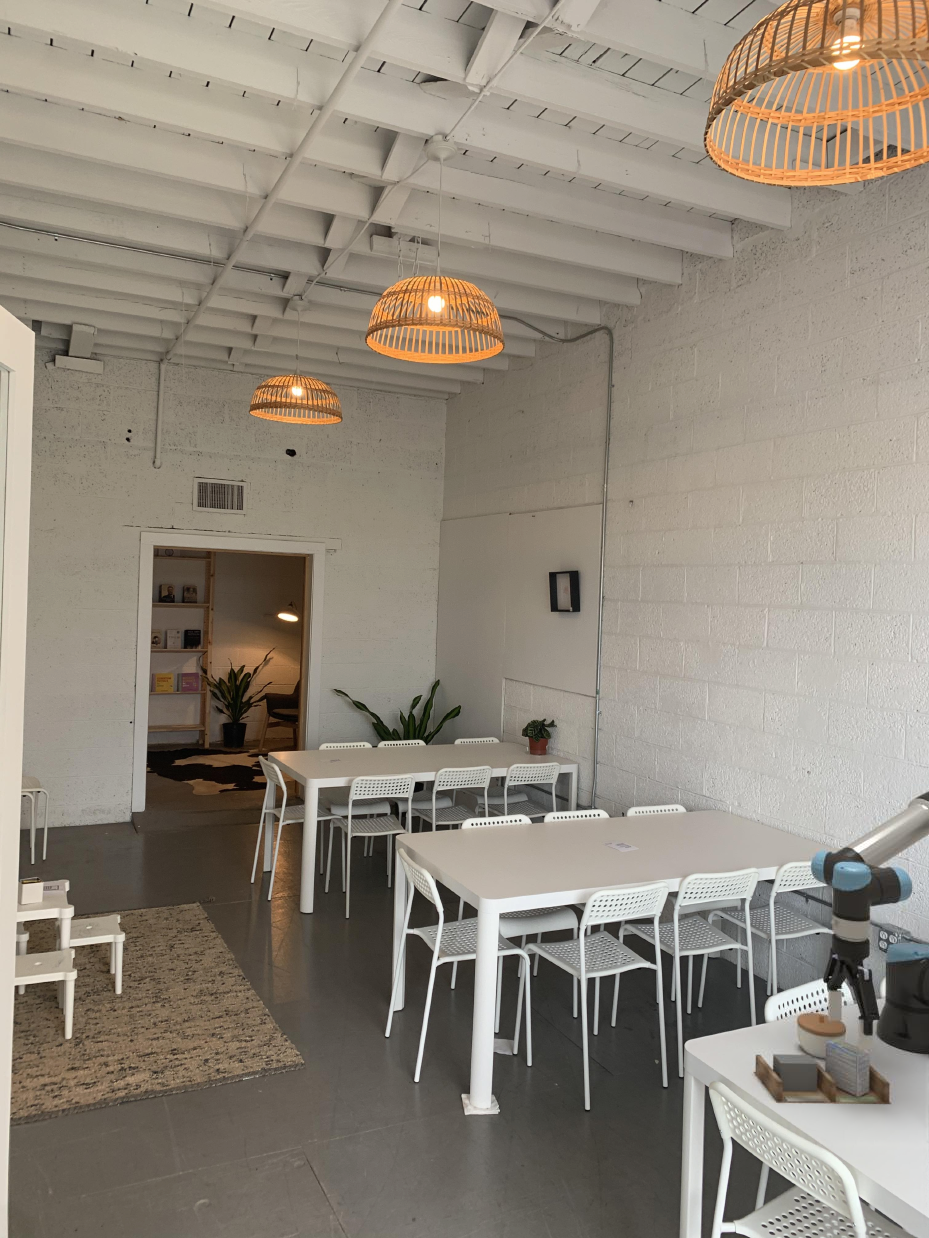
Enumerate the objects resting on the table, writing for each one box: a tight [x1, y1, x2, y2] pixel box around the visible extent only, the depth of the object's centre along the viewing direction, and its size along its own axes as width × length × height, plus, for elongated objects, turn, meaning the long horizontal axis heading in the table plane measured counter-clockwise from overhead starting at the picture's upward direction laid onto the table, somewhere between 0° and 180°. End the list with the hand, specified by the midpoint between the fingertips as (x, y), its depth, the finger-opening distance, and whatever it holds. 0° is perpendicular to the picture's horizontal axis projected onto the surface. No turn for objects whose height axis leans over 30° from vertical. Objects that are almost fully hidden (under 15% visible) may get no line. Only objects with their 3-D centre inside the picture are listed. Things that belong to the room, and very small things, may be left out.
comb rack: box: [753, 1054, 892, 1105], centre depth 191 cm, size 13×24×5 cm, turn 93°
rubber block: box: [772, 1053, 818, 1092], centre depth 191 cm, size 8×4×6 cm, turn 93°
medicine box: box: [824, 1039, 870, 1097], centre depth 191 cm, size 8×4×9 cm, turn 33°
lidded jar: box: [796, 1012, 847, 1059], centre depth 209 cm, size 11×11×9 cm
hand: (849, 1033), depth 192 cm, fingers open, 13 cm apart
